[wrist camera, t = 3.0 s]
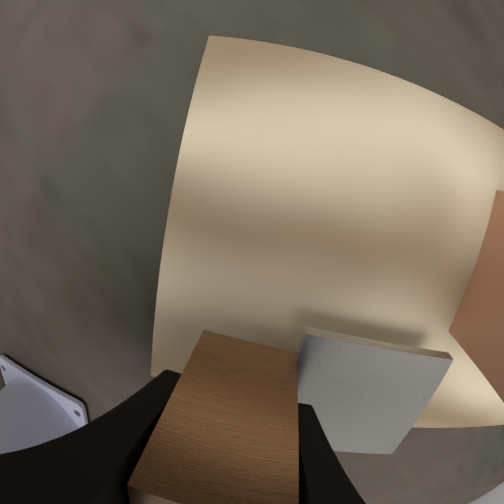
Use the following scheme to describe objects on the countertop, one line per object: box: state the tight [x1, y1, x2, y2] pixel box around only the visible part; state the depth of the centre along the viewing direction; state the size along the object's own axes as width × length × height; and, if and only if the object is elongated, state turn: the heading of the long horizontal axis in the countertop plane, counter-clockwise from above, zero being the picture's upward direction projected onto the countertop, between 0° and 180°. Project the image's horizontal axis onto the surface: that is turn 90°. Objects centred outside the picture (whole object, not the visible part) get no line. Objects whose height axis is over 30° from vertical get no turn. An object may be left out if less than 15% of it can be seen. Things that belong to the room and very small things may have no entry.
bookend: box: [127, 326, 454, 504], centre depth 7 cm, size 5×8×6 cm, turn 77°
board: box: [150, 36, 504, 428], centre depth 11 cm, size 14×22×1 cm, turn 77°
